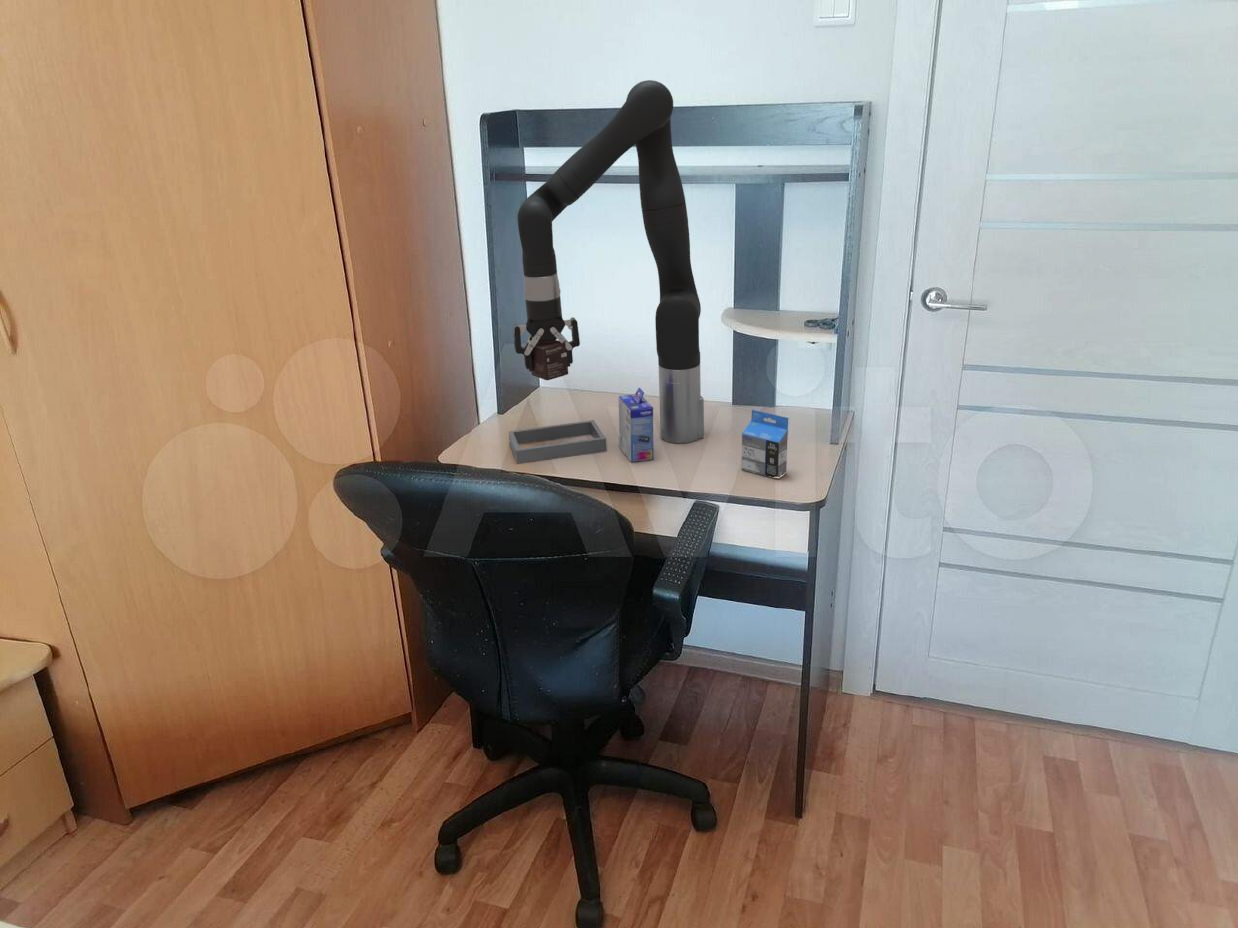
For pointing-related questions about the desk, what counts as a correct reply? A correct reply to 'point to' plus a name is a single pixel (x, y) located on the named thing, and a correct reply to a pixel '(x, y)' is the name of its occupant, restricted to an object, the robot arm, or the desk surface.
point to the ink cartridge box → (636, 427)
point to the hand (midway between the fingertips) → (549, 368)
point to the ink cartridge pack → (765, 445)
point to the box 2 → (561, 448)
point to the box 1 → (549, 360)
